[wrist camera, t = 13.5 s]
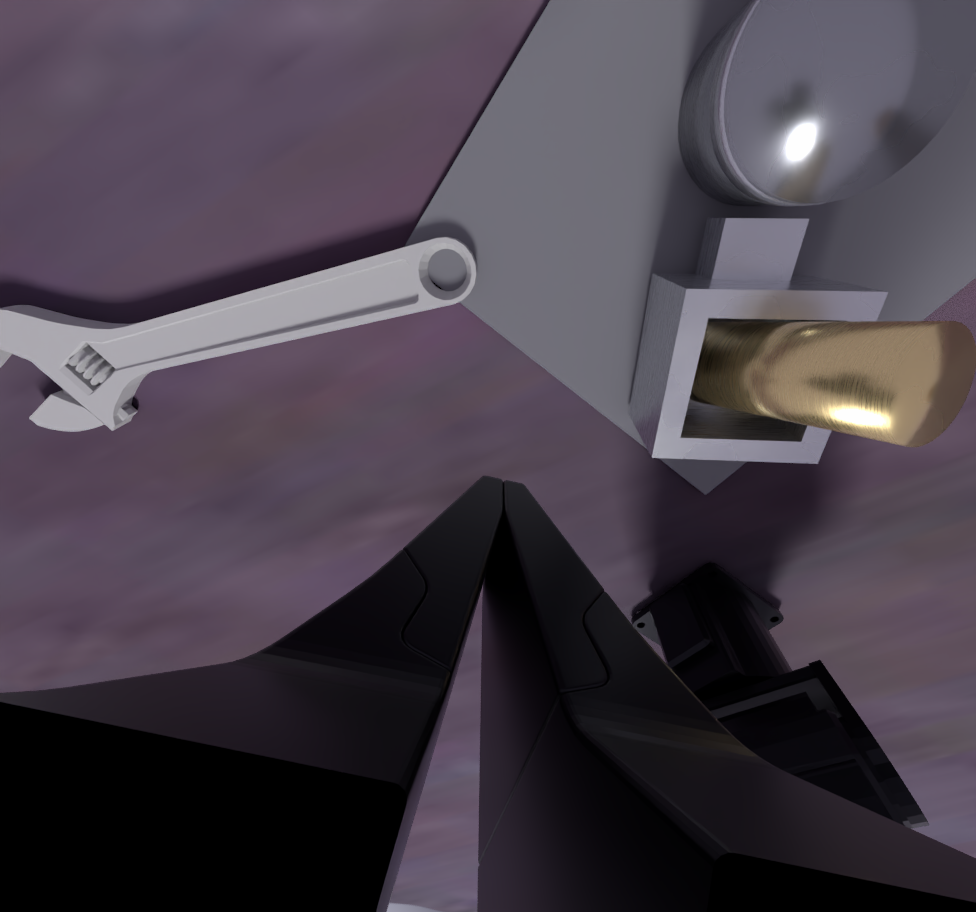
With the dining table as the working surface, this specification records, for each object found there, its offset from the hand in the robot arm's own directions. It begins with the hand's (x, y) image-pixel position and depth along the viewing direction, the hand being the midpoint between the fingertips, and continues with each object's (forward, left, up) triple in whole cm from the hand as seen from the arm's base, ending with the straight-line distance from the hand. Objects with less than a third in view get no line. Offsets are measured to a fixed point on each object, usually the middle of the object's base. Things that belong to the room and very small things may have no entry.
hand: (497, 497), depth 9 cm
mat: (-4, -9, -13) cm, 16 cm away
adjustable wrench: (+11, +9, -14) cm, 19 cm away
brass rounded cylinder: (-7, -5, -11) cm, 13 cm away
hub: (-2, -12, -13) cm, 18 cm away
